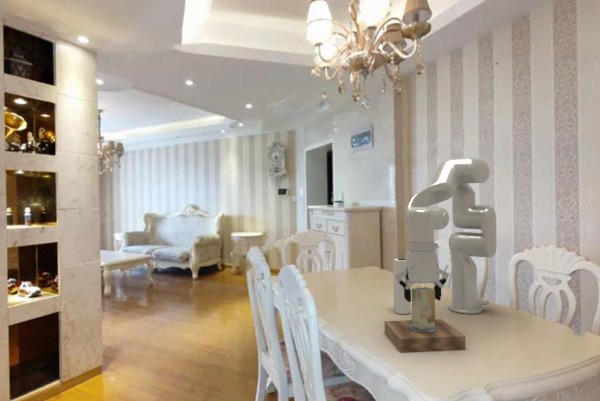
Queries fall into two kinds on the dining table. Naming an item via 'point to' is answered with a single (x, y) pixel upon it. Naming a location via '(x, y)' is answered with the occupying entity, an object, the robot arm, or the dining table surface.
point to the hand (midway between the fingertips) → (422, 299)
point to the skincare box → (423, 308)
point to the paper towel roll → (400, 289)
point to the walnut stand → (424, 336)
